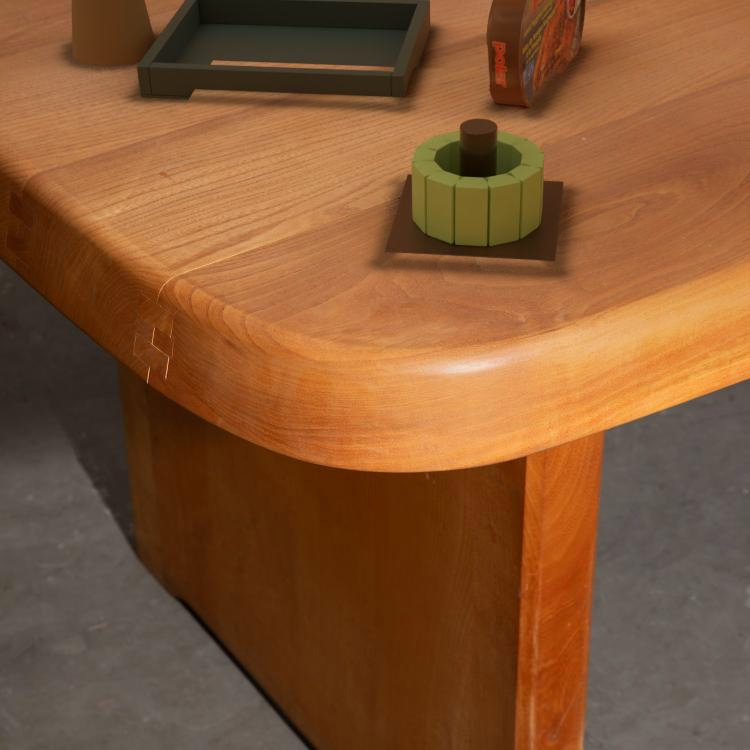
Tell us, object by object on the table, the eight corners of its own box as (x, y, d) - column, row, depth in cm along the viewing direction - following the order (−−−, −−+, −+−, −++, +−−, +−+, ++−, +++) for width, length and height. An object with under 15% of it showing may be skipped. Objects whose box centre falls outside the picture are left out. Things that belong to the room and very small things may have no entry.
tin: (525, 133, 91) (529, 3, 86) (477, 126, 92) (478, -3, 87) (587, 45, 102) (594, -74, 97) (544, 40, 103) (549, -78, 98)
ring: (545, 188, 82) (547, 131, 80) (537, 249, 76) (539, 190, 74) (422, 182, 83) (421, 126, 81) (405, 242, 77) (404, 183, 75)
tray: (430, 34, 105) (430, -1, 103) (404, 114, 94) (403, 76, 92) (193, 26, 107) (190, -8, 106) (141, 103, 96) (136, 66, 95)
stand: (562, 199, 83) (568, 94, 80) (554, 280, 76) (559, 168, 72) (407, 192, 85) (406, 88, 81) (384, 270, 77) (381, 160, 74)
